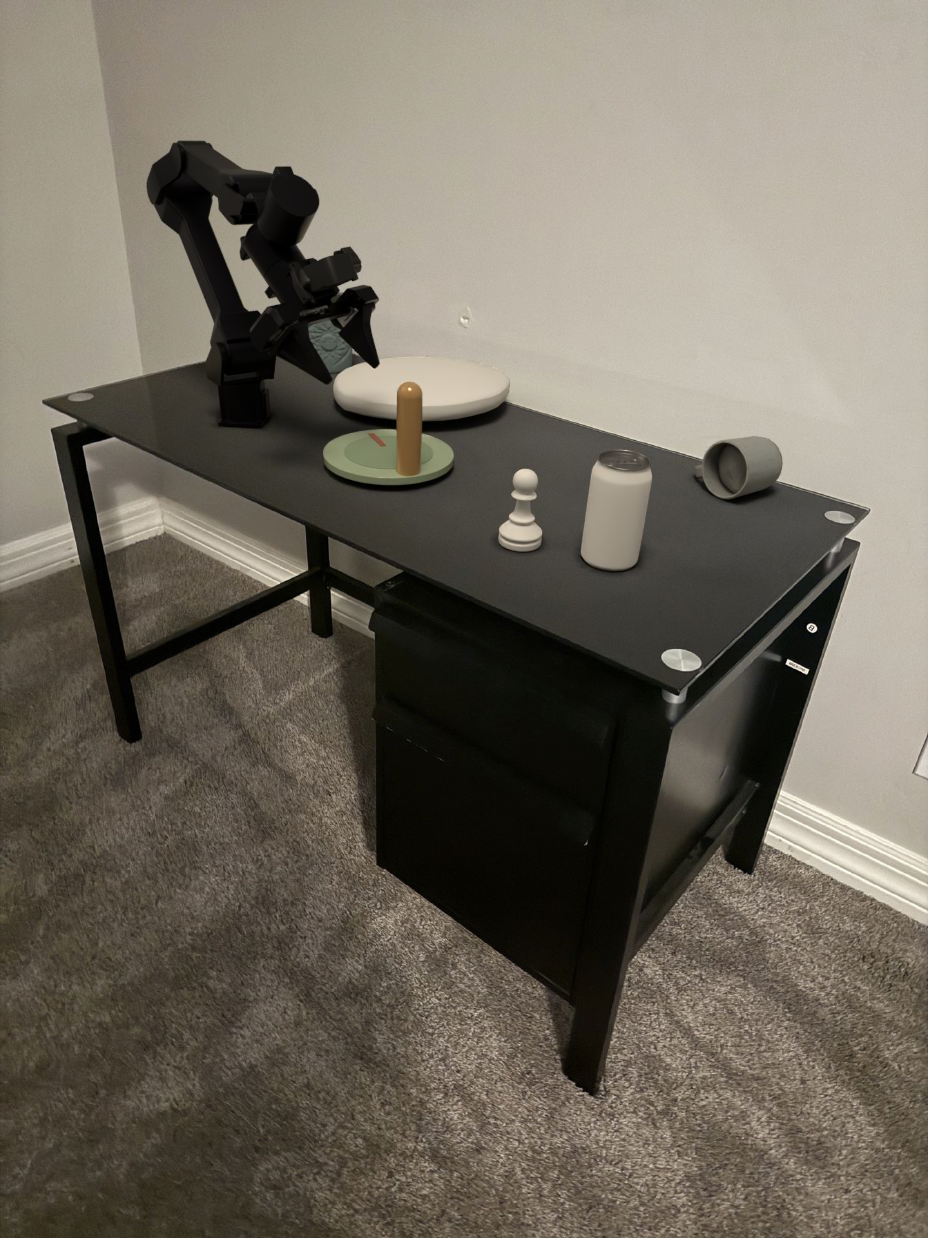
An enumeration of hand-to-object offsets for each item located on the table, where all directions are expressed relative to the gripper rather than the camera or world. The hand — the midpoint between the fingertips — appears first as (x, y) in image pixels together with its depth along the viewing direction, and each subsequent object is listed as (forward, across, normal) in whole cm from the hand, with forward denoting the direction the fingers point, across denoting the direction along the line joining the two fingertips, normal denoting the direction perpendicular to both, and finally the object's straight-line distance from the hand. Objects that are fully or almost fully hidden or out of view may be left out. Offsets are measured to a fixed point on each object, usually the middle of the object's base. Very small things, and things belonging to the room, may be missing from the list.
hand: (354, 374), depth 109 cm
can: (+36, -1, -18) cm, 40 cm away
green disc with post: (+11, +4, +8) cm, 14 cm away
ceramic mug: (+39, +28, -20) cm, 52 cm away
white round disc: (+3, +28, +16) cm, 32 cm away
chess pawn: (+29, -4, -10) cm, 31 cm away
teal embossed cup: (-15, +34, +34) cm, 51 cm away
